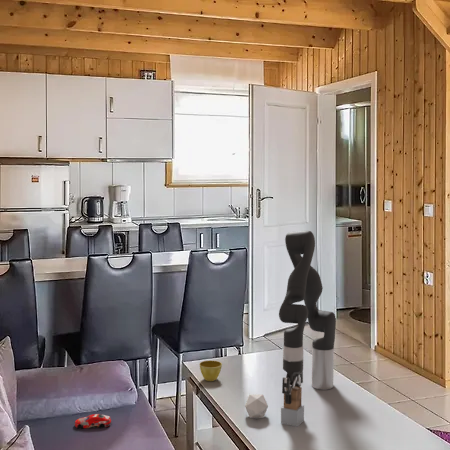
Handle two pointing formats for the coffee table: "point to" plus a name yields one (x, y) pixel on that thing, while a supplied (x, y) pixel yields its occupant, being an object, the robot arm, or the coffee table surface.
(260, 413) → the die
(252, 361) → the coffee table surface
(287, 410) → the grey block
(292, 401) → the walnut block
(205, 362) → the flower pot
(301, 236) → the robot arm
